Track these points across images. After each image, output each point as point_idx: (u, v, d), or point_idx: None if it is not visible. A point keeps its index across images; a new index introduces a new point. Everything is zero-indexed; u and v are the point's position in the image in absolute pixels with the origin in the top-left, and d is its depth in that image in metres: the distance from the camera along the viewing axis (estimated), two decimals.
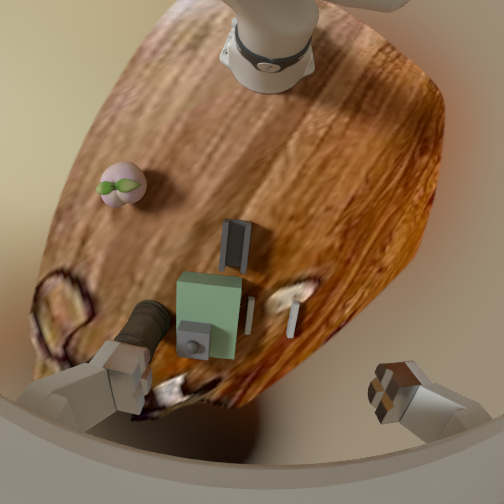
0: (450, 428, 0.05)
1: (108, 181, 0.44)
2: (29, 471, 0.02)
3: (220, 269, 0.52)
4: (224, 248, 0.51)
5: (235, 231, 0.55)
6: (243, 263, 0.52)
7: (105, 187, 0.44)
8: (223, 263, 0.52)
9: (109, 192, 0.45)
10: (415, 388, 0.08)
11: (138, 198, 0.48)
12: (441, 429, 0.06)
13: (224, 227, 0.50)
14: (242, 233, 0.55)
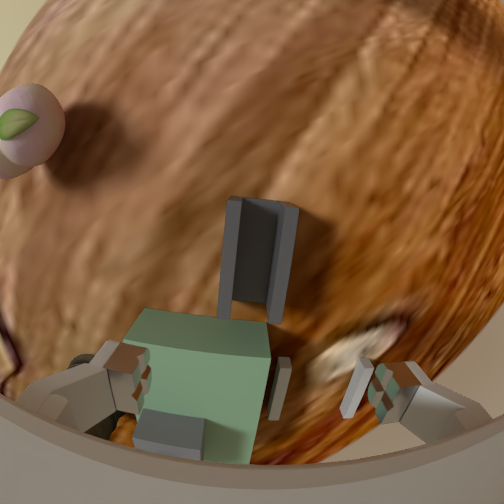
0: (450, 428, 0.05)
1: None
2: (29, 471, 0.02)
3: (220, 315, 0.22)
4: (230, 266, 0.21)
5: (255, 224, 0.24)
6: (276, 301, 0.21)
7: None
8: (228, 302, 0.21)
9: None
10: (415, 388, 0.08)
11: (39, 152, 0.17)
12: (441, 429, 0.06)
13: (230, 213, 0.20)
14: (271, 229, 0.24)
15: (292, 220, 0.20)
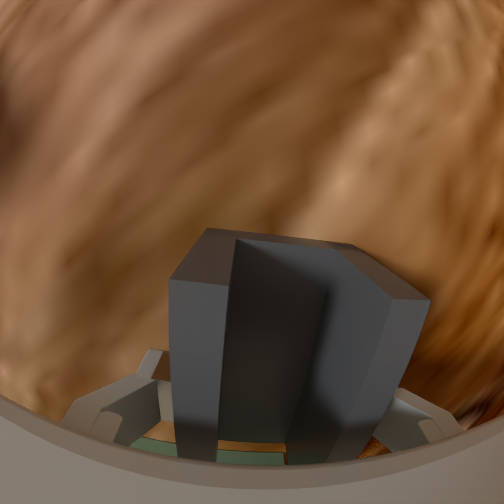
0: (413, 439, 0.05)
1: None
2: (29, 471, 0.02)
3: None
4: (203, 452, 0.06)
5: (271, 307, 0.09)
6: None
7: None
8: None
9: None
10: None
11: None
12: (407, 438, 0.06)
13: (186, 328, 0.05)
14: (310, 318, 0.09)
15: (404, 339, 0.05)
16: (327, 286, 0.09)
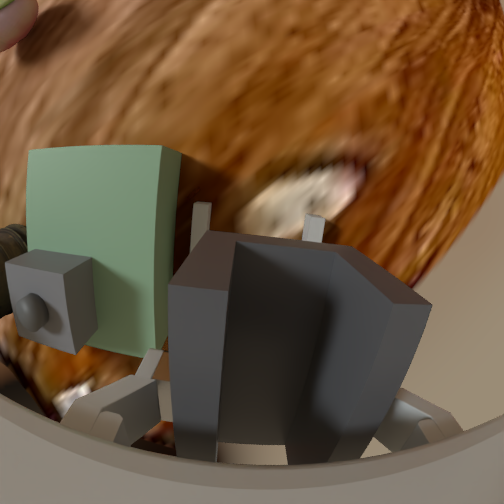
0: (413, 439, 0.05)
1: None
2: (29, 471, 0.02)
3: None
4: (202, 456, 0.06)
5: (270, 311, 0.09)
6: None
7: None
8: None
9: None
10: None
11: (12, 23, 0.12)
12: (407, 438, 0.06)
13: (185, 334, 0.05)
14: (310, 321, 0.09)
15: (405, 344, 0.05)
16: (327, 289, 0.09)
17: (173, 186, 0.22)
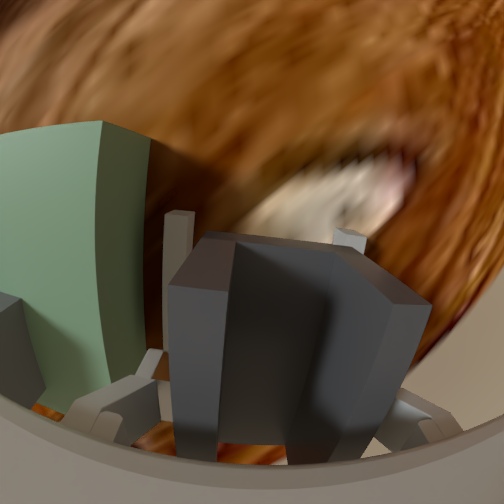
0: (413, 439, 0.05)
1: None
2: (29, 471, 0.02)
3: None
4: (202, 456, 0.06)
5: (271, 311, 0.09)
6: None
7: None
8: None
9: None
10: None
11: None
12: (407, 438, 0.06)
13: (185, 334, 0.05)
14: (310, 321, 0.09)
15: (405, 344, 0.05)
16: (327, 289, 0.09)
17: (135, 188, 0.14)
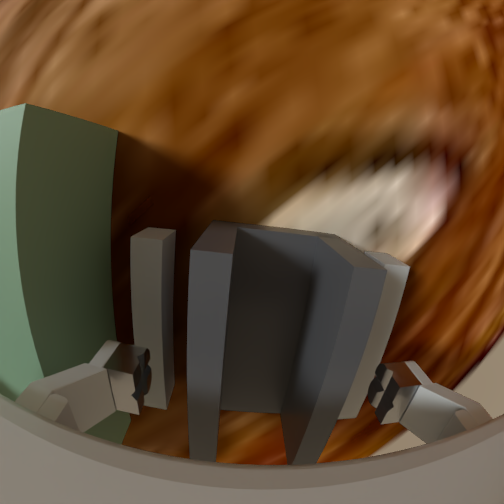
0: (450, 428, 0.05)
1: None
2: (29, 471, 0.02)
3: None
4: (209, 401, 0.08)
5: (265, 284, 0.11)
6: (308, 447, 0.09)
7: None
8: (209, 450, 0.09)
9: None
10: (415, 388, 0.08)
11: None
12: (441, 429, 0.06)
13: (201, 287, 0.07)
14: (298, 294, 0.11)
15: (367, 300, 0.07)
16: (312, 267, 0.11)
17: (92, 199, 0.09)
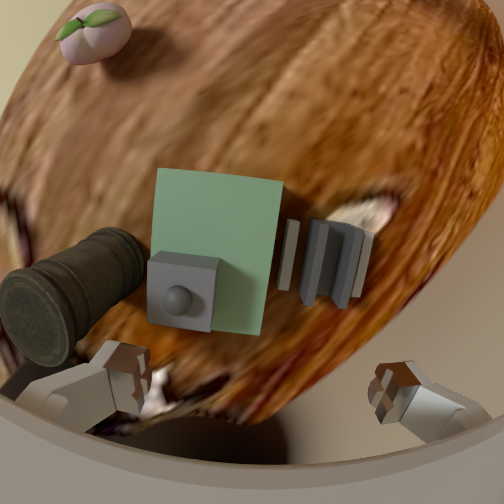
0: (450, 428, 0.05)
1: (75, 20, 0.18)
2: (29, 471, 0.02)
3: (307, 303, 0.30)
4: (318, 268, 0.29)
5: (327, 239, 0.33)
6: (345, 292, 0.30)
7: (68, 26, 0.18)
8: (313, 293, 0.30)
9: (72, 31, 0.19)
10: (415, 388, 0.08)
11: (114, 40, 0.22)
12: (441, 429, 0.06)
13: (321, 232, 0.29)
14: (337, 242, 0.33)
15: (359, 238, 0.29)
16: (342, 233, 0.33)
17: None
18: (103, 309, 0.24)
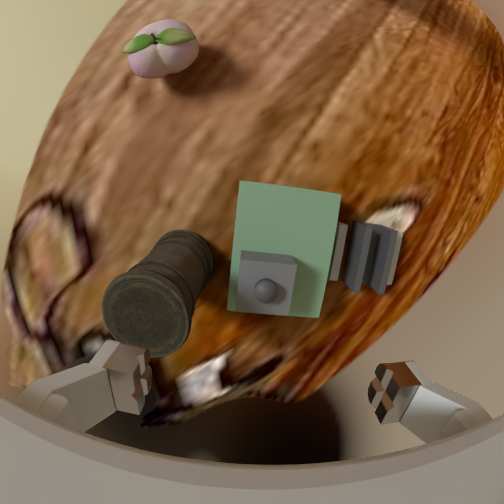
0: (450, 428, 0.05)
1: (146, 34, 0.24)
2: (29, 471, 0.02)
3: (355, 290, 0.37)
4: (364, 261, 0.36)
5: None
6: (383, 280, 0.37)
7: (140, 40, 0.24)
8: (360, 281, 0.36)
9: (145, 46, 0.25)
10: (415, 388, 0.08)
11: (187, 60, 0.28)
12: (441, 429, 0.06)
13: (367, 233, 0.35)
14: (374, 241, 0.39)
15: (394, 237, 0.35)
16: (378, 233, 0.39)
17: None
18: None
